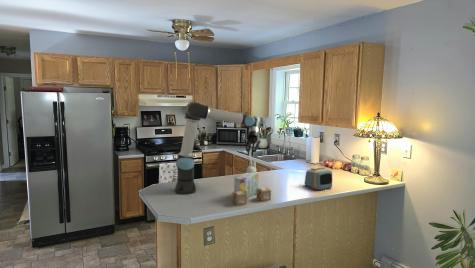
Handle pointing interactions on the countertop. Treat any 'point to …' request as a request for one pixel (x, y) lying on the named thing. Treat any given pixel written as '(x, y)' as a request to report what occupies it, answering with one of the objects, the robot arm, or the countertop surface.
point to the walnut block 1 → (239, 198)
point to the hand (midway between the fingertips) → (249, 159)
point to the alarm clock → (318, 178)
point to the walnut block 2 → (263, 194)
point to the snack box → (247, 183)
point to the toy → (251, 168)
